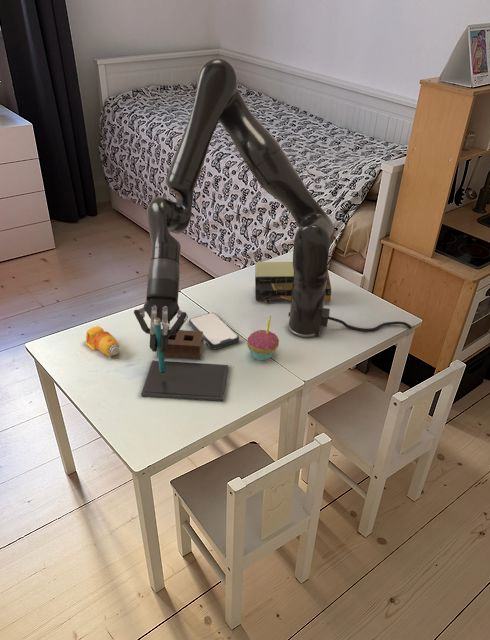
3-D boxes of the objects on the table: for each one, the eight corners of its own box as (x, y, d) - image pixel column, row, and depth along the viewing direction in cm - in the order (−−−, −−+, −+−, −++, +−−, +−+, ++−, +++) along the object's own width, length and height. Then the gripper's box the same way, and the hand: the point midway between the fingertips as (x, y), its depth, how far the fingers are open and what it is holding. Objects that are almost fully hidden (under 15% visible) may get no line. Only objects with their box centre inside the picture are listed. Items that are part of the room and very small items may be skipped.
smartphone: (187, 323, 158) (212, 351, 147) (186, 319, 157) (212, 346, 146) (214, 315, 162) (240, 342, 151) (213, 311, 161) (240, 337, 150)
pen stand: (203, 344, 150) (203, 331, 147) (200, 359, 144) (199, 346, 141) (162, 342, 150) (160, 328, 147) (157, 357, 145) (155, 343, 142)
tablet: (228, 367, 142) (227, 364, 142) (222, 401, 132) (222, 398, 131) (152, 362, 143) (152, 359, 142) (141, 396, 132) (141, 393, 132)
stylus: (166, 369, 136) (160, 317, 126) (165, 373, 135) (159, 321, 125) (160, 369, 136) (154, 317, 126) (159, 373, 135) (153, 320, 125)
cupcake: (264, 342, 151) (266, 306, 144) (284, 357, 146) (287, 320, 139) (240, 353, 147) (241, 316, 139) (260, 369, 142) (261, 331, 134)
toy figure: (125, 355, 145) (101, 336, 151) (123, 338, 141) (98, 319, 148) (108, 363, 142) (84, 343, 148) (105, 347, 138) (80, 326, 145)
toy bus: (330, 305, 167) (332, 276, 161) (255, 305, 168) (255, 276, 161) (327, 288, 175) (329, 260, 169) (255, 289, 175) (255, 261, 169)
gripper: (193, 286, 134) (188, 355, 133) (139, 283, 135) (133, 352, 133) (189, 277, 127) (184, 350, 125) (131, 274, 127) (125, 347, 125)
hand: (158, 351), depth 129 cm, fingers closed on stylus, 1 cm apart
